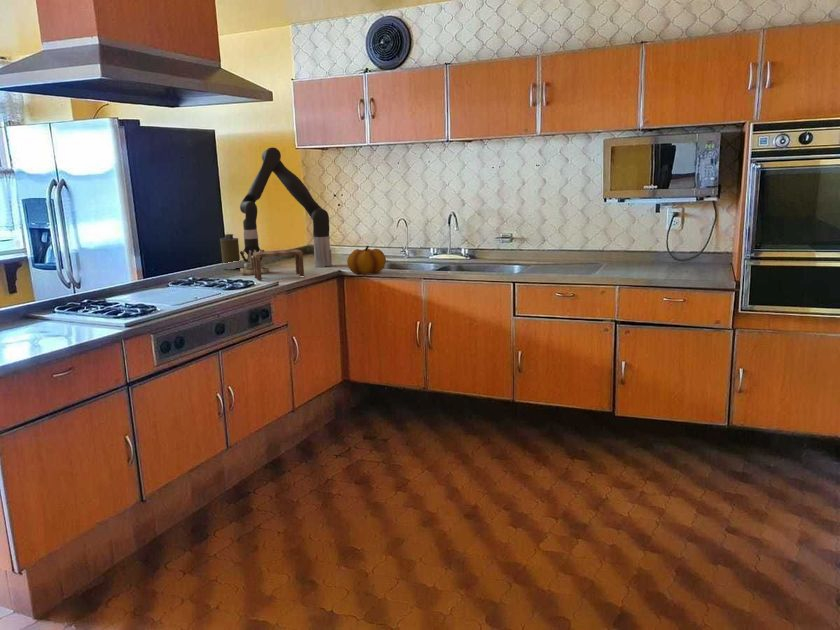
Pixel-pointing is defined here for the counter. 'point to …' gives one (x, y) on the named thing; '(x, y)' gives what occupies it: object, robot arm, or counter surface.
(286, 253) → the wooden rack
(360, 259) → the decorative pumpkin
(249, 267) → the tray
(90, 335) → the counter surface
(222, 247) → the canister
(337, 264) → the counter surface
